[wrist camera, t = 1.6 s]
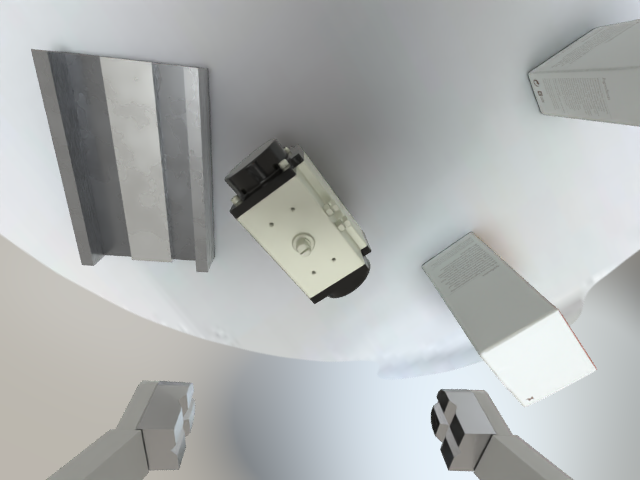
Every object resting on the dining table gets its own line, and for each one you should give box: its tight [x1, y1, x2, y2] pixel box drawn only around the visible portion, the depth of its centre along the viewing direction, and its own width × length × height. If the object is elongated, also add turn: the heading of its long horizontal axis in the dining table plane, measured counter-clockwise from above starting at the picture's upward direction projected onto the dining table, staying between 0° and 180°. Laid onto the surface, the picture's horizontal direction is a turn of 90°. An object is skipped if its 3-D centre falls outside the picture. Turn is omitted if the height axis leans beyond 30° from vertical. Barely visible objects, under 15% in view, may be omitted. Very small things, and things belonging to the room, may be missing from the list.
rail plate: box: [31, 49, 215, 272], centre depth 28 cm, size 17×11×3 cm, turn 174°
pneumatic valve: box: [225, 138, 371, 304], centre depth 26 cm, size 6×12×12 cm, turn 36°
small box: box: [422, 232, 597, 407], centre depth 31 cm, size 8×6×13 cm
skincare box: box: [528, 19, 640, 127], centre depth 23 cm, size 6×4×12 cm
